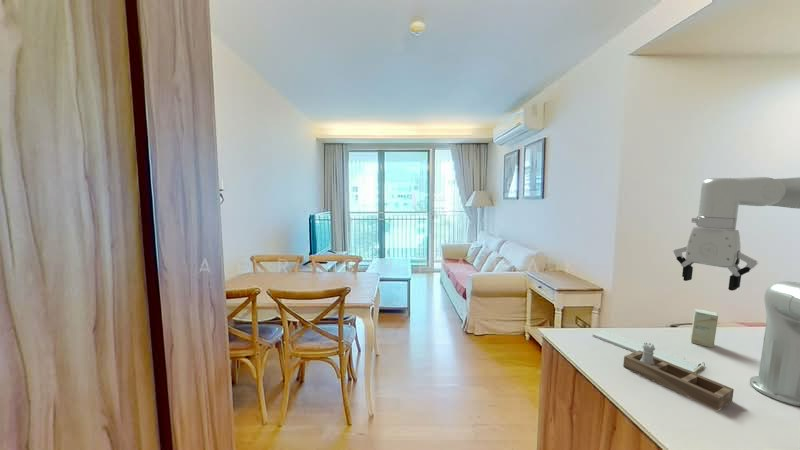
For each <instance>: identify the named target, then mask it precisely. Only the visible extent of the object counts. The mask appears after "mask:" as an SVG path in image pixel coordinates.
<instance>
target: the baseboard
mask: <svg viewBox="0 0 800 450" xmlns="http://www.w3.org/2000/svg"><path fill="white" fill-rule="evenodd" d="M592 337H594V338H596V339H597V340H598V339H599V340H601V341H604V342H606V343H609V344H611V345H614V346H617V347H619V348H622V349H625V350H627V351H630V352H632V353H634V352H637V351H639V350H640V351H642V352H643V350H644V348H643V347H642V345H644V343H640V342H637V341H635V340H633V339H629V338H626V337H623V336H621V335H618V334H615V333H612V332H609V331H607V330H604V329H601V330H599V331H597V332H594V333H592ZM653 353H654V354H653V356H654V357H657V358H659V359H662V360H664V361H667V362H669V363H671V364H674V365H676V366H679V367H681V368H684V369H686V370H688V371H691V372H693V373H696V374H698V372H699V371H701V369H703V368H704V367H705V366H706V363H705V361H703V362H702V363H697V362H694V361H691V360H688V359H686V358H683V357H680V356H678V355H674V354H671V353H669V352H666V351H663V350H660V349H659V348H658V349H657V348H655V350H654V351H653Z"/></svg>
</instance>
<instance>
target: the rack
mask: <svg viewBox="0 0 800 450" xmlns="http://www.w3.org/2000/svg"><path fill="white" fill-rule="evenodd" d="M642 356H643V352H642V351H640V350H639V351H637V352H632V353H629V354H625V355H624V356H623V365H622V366H623V367H624V368H626V369H628V370H630V371H631V372H634V373H636V374H639V375H641V376H642V377H645V378H647V379H649V380H651V381H653V382H656V383H658V384H660V385H662V386H663V387H666V388H668V389H670V390H673V391H674V392H677V393H678V394H681V395H683V396H685V397H687V398H688V399H689V398H690V399H692V400H693V401H695V402H698V403H699V404H702V405H704V406H707V407H708V408H710V409H713V410H715V411H717V412H718V411H719V410H721V409H723V408H724V407H726V406H727V405H729V404H730V403H732V402H733V398H734V397H733V396H734V391H735V390H734V388H732V387H729V386H727V385H725V384H723V383H719V382H717V381H716V380H712V379H710V378H708V377H706V376H704V375H703V376H702V375H700V374H698V373H693V372H691V371H688V370H686V369H684V368H681V367H679V366H676V365H674V364H671V363H669V362H667V361H664V360H662V359H659V358H657V357H654V356H653V362H654V364H655V365H654V366H651V365H648V364H646V363H644V362H641V361H639V360H640V359H642Z"/></svg>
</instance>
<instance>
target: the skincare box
mask: <svg viewBox="0 0 800 450" xmlns="http://www.w3.org/2000/svg"><path fill="white" fill-rule="evenodd" d="M692 318H693V319H692V324H691V325H692V326H691V331H690V332H691V333H690V342H691V343H692V344H697V345H700V346H703V345H704V346H703V347H707V346H708V347H709V348H712V349H714V347H715V340H716V334H717V327H718V319H719V314H718V312H716V311H709V310H705V309H704V310H703V309H698V308H694V310H693V317H692ZM708 347H707V348H708Z"/></svg>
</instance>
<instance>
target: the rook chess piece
mask: <svg viewBox="0 0 800 450" xmlns="http://www.w3.org/2000/svg"><path fill="white" fill-rule="evenodd" d="M642 347H643V348H644V350H643V356H642V359H640V360H639V361H641V362H644V363H646V364H648V365H651V366H654V365H655V364H654V362H653V354H654V353H653V351H654V350H655V349H656V347H655V345H654V344H651V343H650V342H644V343H643V345H642Z"/></svg>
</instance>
